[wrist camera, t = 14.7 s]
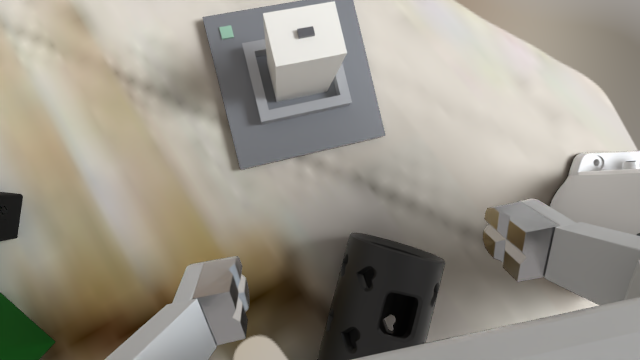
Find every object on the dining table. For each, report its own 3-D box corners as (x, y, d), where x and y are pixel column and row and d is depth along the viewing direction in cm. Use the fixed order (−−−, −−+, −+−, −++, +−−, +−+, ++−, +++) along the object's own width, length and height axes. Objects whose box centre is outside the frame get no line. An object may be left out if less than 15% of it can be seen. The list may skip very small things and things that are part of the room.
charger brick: (318, 55, 34) (335, -2, 23) (326, 91, 34) (348, 51, 23) (267, 64, 33) (262, 11, 23) (276, 102, 33) (275, 65, 23)
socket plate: (349, -3, 35) (354, -17, 33) (382, 136, 35) (390, 133, 33) (204, 22, 33) (198, 8, 31) (241, 169, 33) (238, 168, 31)
